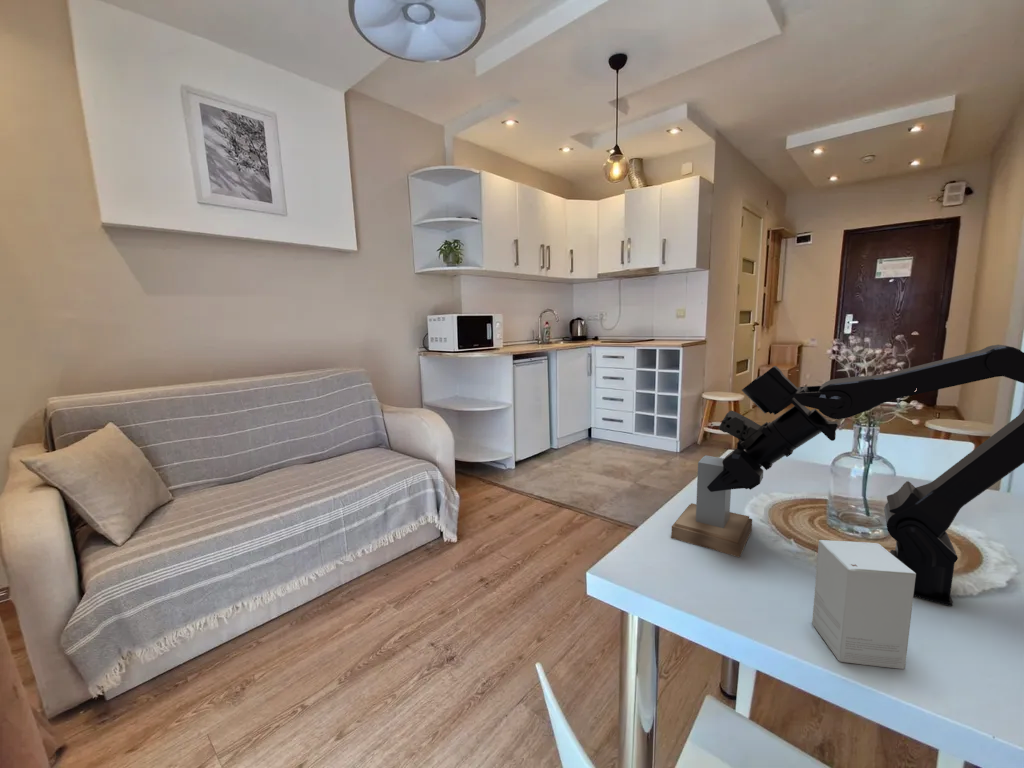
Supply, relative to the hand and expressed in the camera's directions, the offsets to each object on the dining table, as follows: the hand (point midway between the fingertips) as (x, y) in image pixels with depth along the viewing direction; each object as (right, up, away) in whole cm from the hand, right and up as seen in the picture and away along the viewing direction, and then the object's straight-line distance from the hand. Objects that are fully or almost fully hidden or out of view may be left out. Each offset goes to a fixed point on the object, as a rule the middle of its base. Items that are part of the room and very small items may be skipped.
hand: (714, 481), depth 83 cm
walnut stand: (0, -11, +2) cm, 11 cm away
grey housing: (0, -8, +1) cm, 8 cm away
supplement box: (+5, -15, -27) cm, 32 cm away
